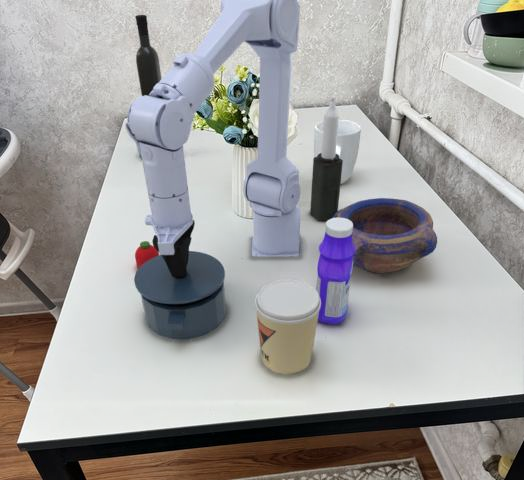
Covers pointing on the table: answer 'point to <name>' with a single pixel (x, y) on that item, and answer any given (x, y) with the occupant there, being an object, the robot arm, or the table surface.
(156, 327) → the pot
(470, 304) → the table surface
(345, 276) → the bottle
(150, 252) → the strawberry
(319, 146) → the mug
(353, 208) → the bowl
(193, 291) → the lid
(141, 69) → the wine bottle
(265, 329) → the coffee cup
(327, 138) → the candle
